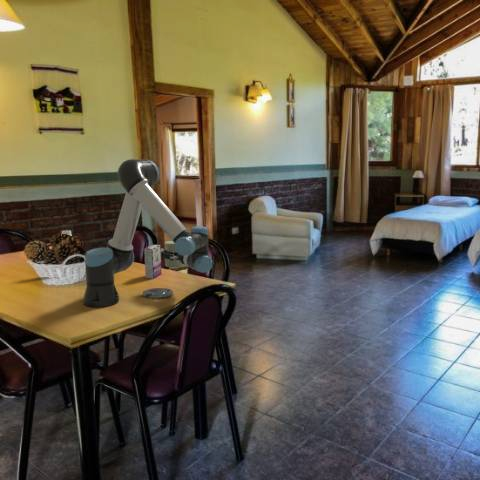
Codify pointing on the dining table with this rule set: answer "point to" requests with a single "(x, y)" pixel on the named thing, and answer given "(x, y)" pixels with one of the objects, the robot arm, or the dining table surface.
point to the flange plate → (157, 293)
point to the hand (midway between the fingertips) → (170, 250)
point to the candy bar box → (152, 261)
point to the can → (171, 248)
